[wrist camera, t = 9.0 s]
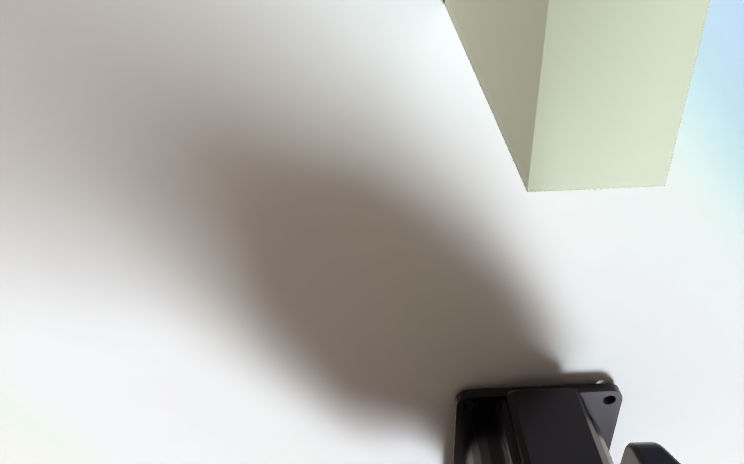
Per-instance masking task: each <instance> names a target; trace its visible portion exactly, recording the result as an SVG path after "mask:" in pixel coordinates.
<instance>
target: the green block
mask: <svg viewBox="0 0 744 464" xmlns="http://www.w3.org/2000/svg"><path fill="white" fill-rule="evenodd" d="M709 4H710V0H445V7H446V9H447V11H448V13H449V16H450V18H451V20H452V22H453V25H454V27H455V29H456V32H457V34H458V36H459V38H460V41H461V43H462V45H463V47H464V50H465V52H466V54H467V56H468V59H469V61H470V63H471V66H472V68H473V70H474V72H475V75H476V77H477V79H478V81H479V84H480V86H481V88H482V90H483V93H484V95H485V97H486V99H487V102H488V104H489V106H490V109H491V111H492V113H493V115H494V118H495V120H496V122H497V124H498V127H499V129H500V131H501V133H502V136H503V138H504V140H505V143H506V145H507V147H508V149H509V152H510V154H511V156H512V158H513V161H514V163H515V165H516V167H517V170H518V172H519V174H520V177H521V179H522V181H523V183H524V186H525V188H526V190H527V192H537V191H561V190H584V189H608V188H631V187H655V186H665V183H666V179H667V175H668V171H669V167H670V163H671V159H672V155H673V151H674V147H675V143H676V139H677V134H678V130H679V126H680V122H681V118H682V114H683V110H684V106H685V102H686V98H687V94H688V90H689V86H690V81H691V77H692V73H693V69H694V65H695V61H696V57H697V53H698V49H699V45H700V41H701V37H702V33H703V28H704V24H705V20H706V16H707V12H708V8H709Z"/></svg>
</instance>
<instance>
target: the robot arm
mask: <svg viewBox="0 0 744 464" xmlns="http://www.w3.org/2000/svg"><path fill="white" fill-rule="evenodd" d="M466 402H470V403H466ZM621 402H622V395H621V393H620V390H619V388H618V387H617V386H616V385H614V384H609V383H607V384H584V385H562V386H540V387H518V388H495V389H473V390H464V391H462V392H460V393H458V394H457V395H456V398H455V411H454V431H453V450H452V464H614V463H613V461H612V458H611V456H610V453H609V449H610V445H611V441H612V437H613V433H614V430H615V426H616V422H617V418H618V414H619V410H620V406H621ZM620 464H680V463H679V462H678V461H677V460H676V459H675V458H674V457H673V456H672V455H671V454H670V453H669V452H668V451H667V450H665V449H664V448H663V447H662V446H661V445H659V444H657V443H653V442H637V443H629V444H628V445H627V446H626V448H625V450H624V454H623V457H622V460H621V463H620Z"/></svg>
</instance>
